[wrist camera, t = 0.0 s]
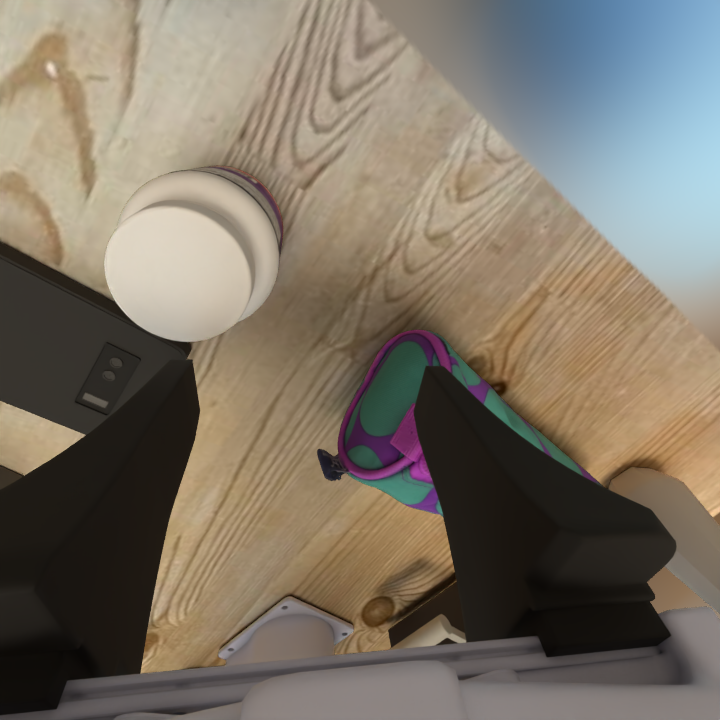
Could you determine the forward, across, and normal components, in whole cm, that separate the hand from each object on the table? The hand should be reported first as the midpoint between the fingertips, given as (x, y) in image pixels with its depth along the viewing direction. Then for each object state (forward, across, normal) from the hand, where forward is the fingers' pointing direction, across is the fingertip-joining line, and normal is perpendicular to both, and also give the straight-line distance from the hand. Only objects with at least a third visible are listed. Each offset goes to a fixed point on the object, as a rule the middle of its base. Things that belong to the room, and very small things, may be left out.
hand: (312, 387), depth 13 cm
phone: (+10, +14, +5) cm, 18 cm away
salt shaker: (+8, -27, +17) cm, 33 cm away
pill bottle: (+11, +4, -1) cm, 12 cm away
